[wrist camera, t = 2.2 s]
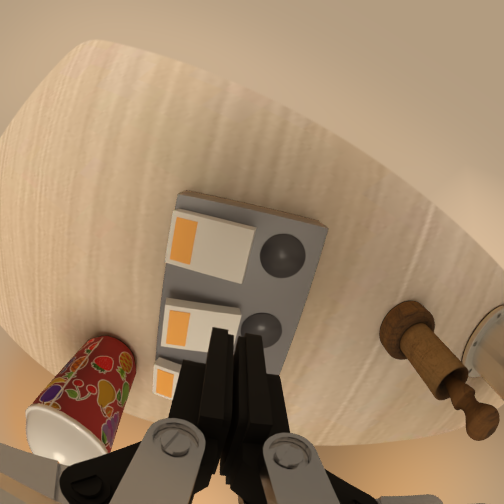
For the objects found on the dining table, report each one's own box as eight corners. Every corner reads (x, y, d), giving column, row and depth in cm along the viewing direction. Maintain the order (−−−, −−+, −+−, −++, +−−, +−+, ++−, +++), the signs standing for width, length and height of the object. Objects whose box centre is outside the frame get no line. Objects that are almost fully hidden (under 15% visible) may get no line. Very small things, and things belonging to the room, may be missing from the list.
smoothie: (73, 325, 28) (-23, 444, 9) (133, 324, 28) (47, 479, 9) (96, 380, 31) (34, 501, 12) (154, 383, 31) (107, 529, 12)
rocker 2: (256, 227, 21) (254, 230, 20) (244, 278, 22) (241, 284, 21) (179, 208, 21) (172, 210, 20) (170, 257, 22) (164, 262, 21)
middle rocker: (239, 307, 24) (241, 316, 23) (229, 346, 25) (231, 355, 24) (166, 297, 22) (165, 305, 21) (161, 337, 23) (160, 346, 22)
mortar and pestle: (373, 317, 29) (461, 439, 12) (421, 290, 29) (527, 385, 11) (385, 358, 31) (454, 470, 14) (428, 332, 30) (512, 427, 13)
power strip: (317, 220, 26) (329, 229, 22) (263, 388, 31) (265, 412, 28) (186, 190, 25) (176, 194, 21) (160, 369, 30) (153, 391, 26)
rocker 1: (220, 376, 25) (216, 385, 24) (213, 404, 26) (210, 413, 25) (159, 357, 25) (153, 364, 24) (157, 386, 26) (152, 393, 25)
